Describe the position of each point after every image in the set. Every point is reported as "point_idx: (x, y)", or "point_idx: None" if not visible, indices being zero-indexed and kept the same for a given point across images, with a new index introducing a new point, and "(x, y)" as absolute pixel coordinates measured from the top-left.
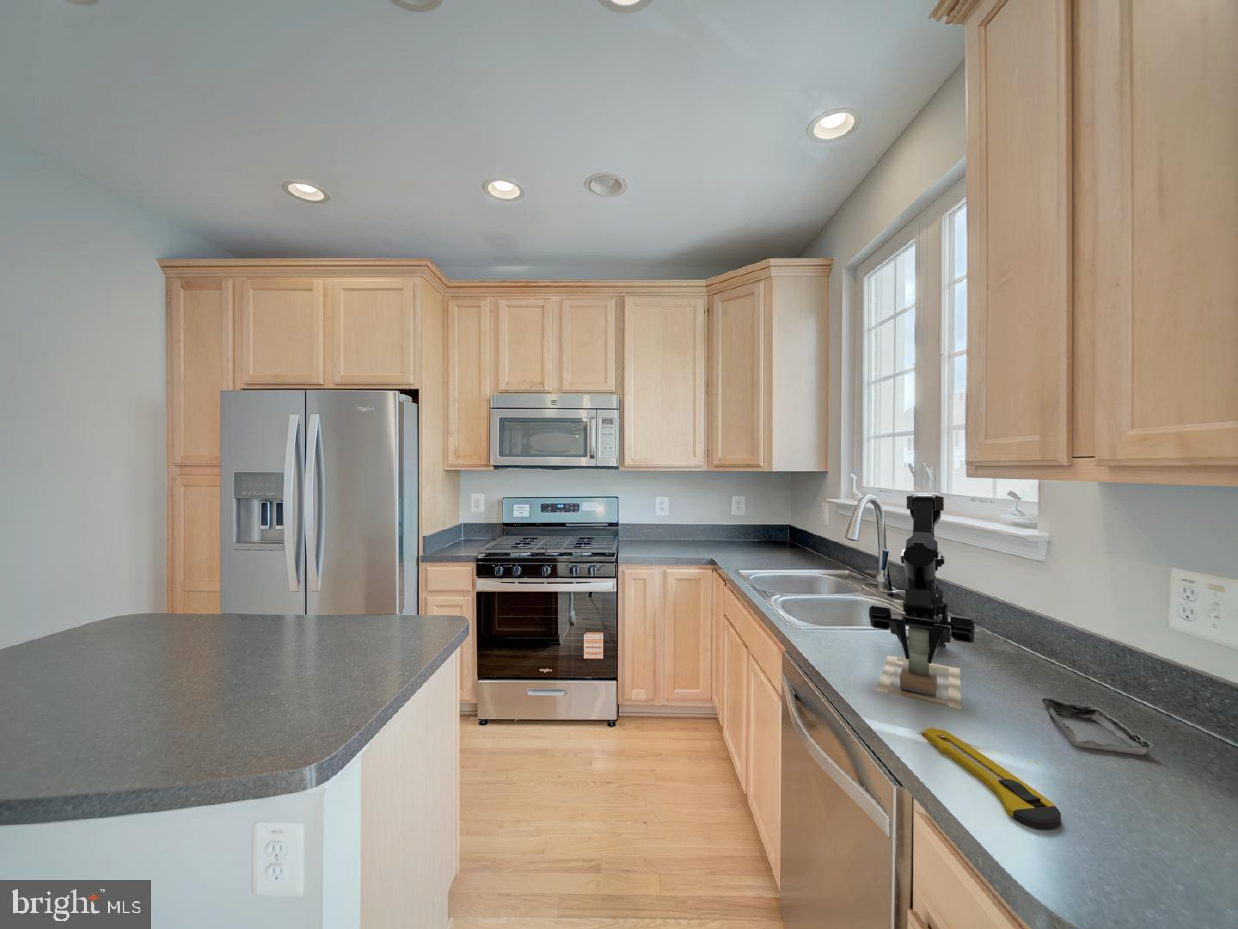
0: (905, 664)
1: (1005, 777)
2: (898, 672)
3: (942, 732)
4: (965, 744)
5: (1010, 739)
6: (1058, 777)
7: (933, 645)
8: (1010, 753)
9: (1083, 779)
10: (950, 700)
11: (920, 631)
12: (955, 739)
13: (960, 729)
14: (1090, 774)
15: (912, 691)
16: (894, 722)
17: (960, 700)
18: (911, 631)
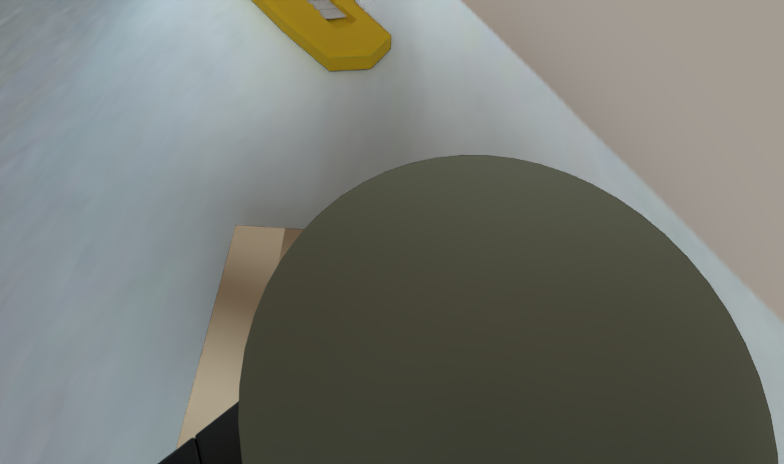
0: None
1: None
2: None
3: (336, 38)
4: (286, 8)
5: (133, 128)
6: (105, 8)
7: (238, 431)
8: (173, 58)
9: (44, 19)
10: (262, 294)
11: (446, 279)
12: (307, 20)
13: (276, 126)
14: (6, 42)
15: None
16: (466, 88)
17: (212, 320)
18: (617, 207)
